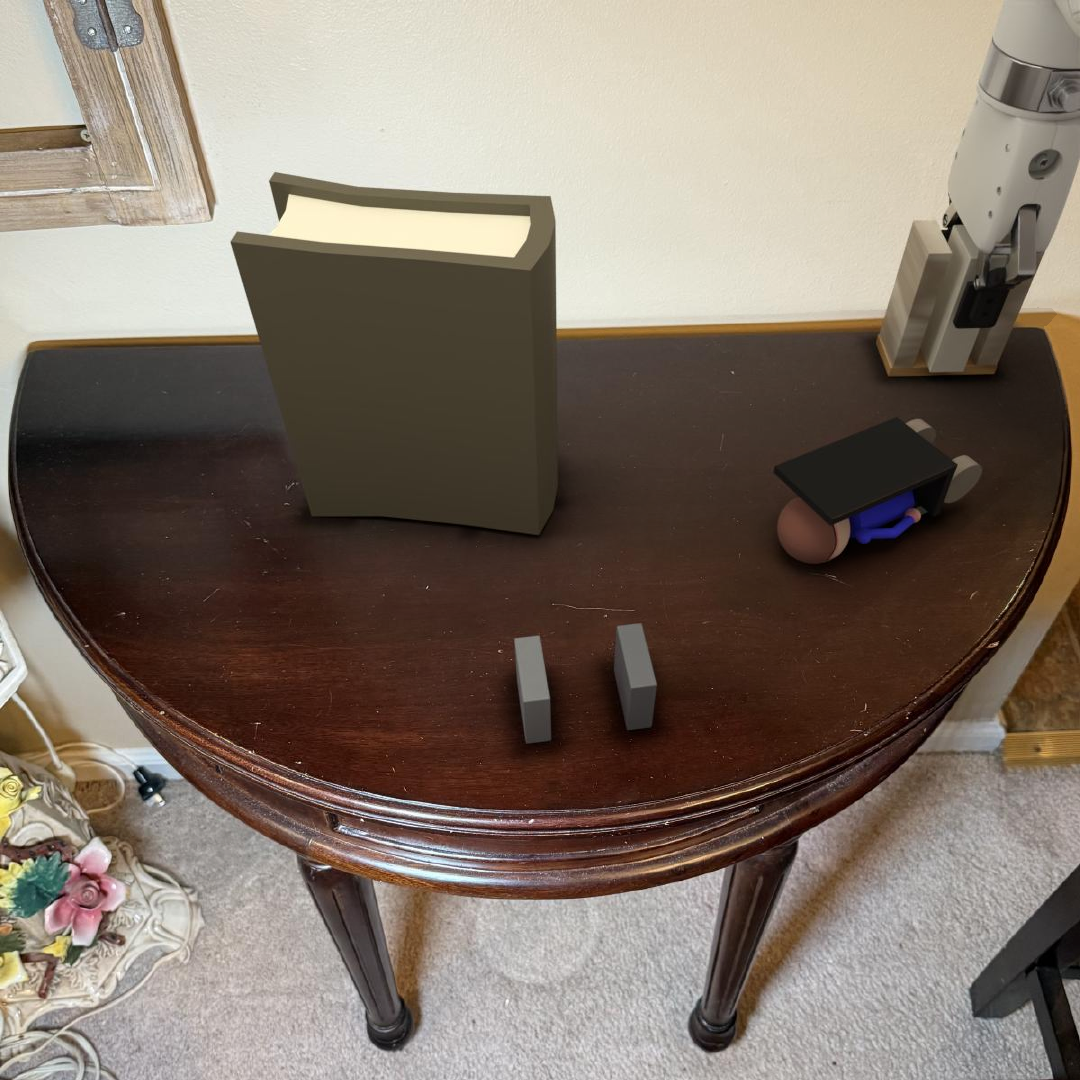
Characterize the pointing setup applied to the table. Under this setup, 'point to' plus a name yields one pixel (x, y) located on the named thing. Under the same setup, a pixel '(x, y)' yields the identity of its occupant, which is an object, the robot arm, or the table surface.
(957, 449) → the table surface
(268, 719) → the table surface
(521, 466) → the book
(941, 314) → the beige rectangular block
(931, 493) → the figurine character
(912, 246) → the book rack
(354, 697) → the table surface
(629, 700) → the grey rectangular blocks
